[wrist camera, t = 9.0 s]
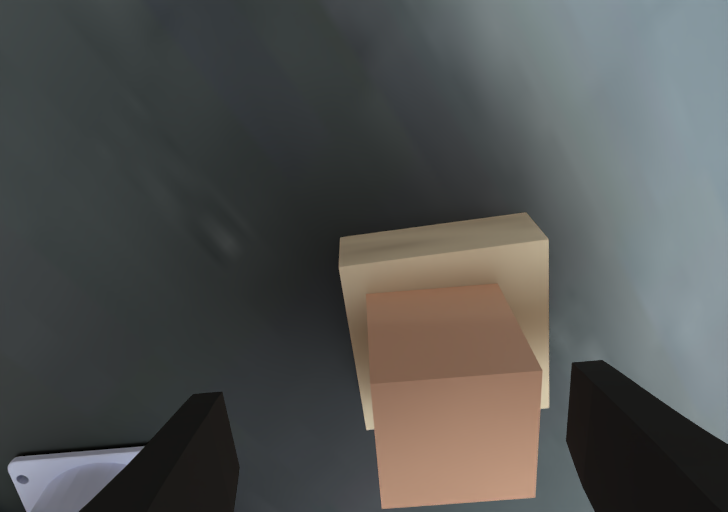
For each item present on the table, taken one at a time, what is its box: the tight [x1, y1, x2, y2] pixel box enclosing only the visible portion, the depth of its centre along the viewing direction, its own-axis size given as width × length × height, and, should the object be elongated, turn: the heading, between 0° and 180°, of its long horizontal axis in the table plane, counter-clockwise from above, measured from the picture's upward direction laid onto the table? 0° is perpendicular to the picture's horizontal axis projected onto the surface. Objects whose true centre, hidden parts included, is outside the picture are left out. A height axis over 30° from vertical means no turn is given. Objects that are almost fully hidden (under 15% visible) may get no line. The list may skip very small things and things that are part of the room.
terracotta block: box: [366, 283, 543, 509], centre depth 18 cm, size 4×4×5 cm
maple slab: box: [339, 212, 549, 430], centre depth 22 cm, size 7×7×3 cm
